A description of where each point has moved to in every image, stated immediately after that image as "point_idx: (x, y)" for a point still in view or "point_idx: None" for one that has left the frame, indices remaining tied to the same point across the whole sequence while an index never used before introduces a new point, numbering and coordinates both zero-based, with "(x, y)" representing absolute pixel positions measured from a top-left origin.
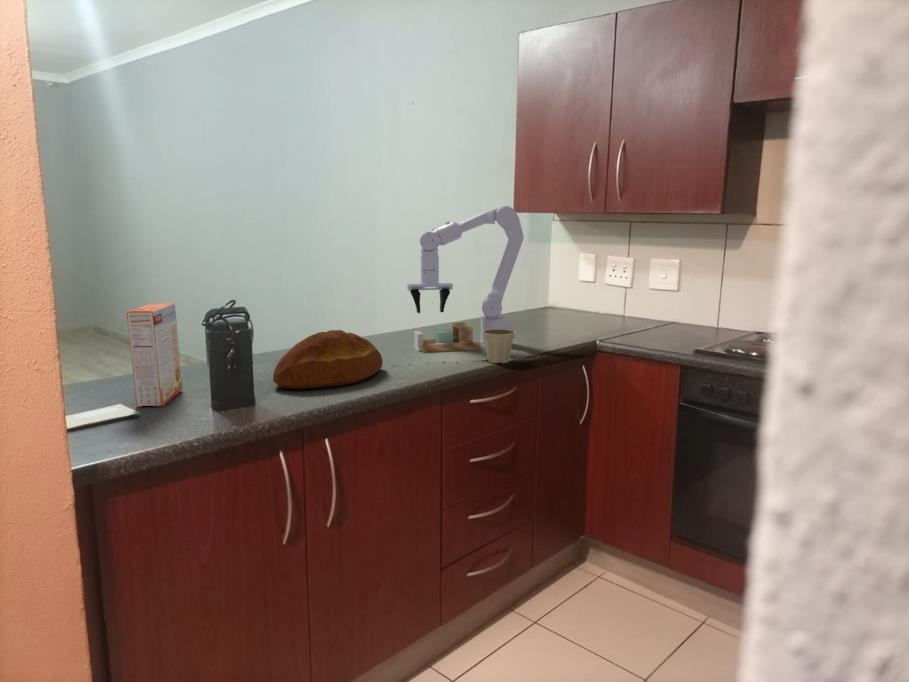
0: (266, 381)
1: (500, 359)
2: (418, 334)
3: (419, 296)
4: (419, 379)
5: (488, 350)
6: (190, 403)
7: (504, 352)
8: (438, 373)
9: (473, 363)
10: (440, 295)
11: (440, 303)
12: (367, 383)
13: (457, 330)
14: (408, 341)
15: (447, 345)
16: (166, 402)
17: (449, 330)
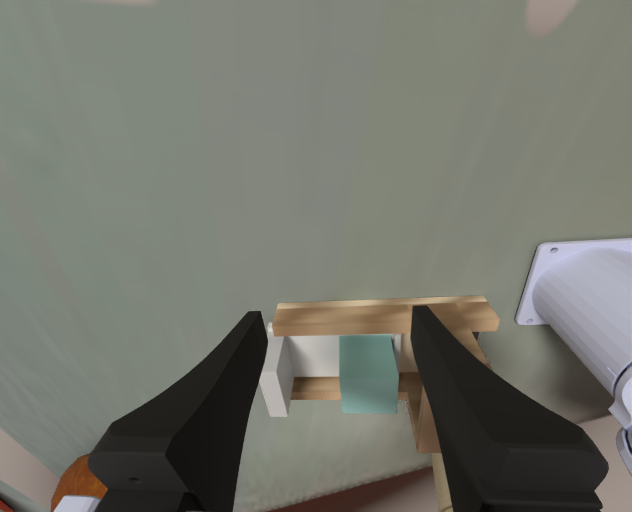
0: (54, 468)
1: None
2: (272, 415)
3: (231, 477)
4: (278, 497)
5: (435, 485)
6: (33, 508)
7: None
8: (311, 482)
9: (394, 451)
10: (459, 419)
11: (432, 351)
12: None
13: None
14: (244, 148)
15: None
16: (8, 508)
17: (393, 389)
